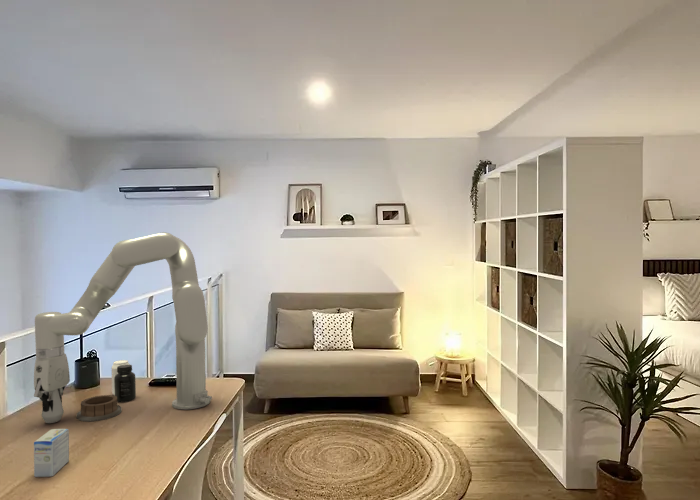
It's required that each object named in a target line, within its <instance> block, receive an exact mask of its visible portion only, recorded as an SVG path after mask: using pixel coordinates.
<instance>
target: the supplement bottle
mask: <svg viewBox="0 0 700 500" xmlns="http://www.w3.org/2000/svg"><path fill="white" fill-rule="evenodd" d="M117 372H118V374H116V375H115V377H114V389H115V395H114V396H117V403H128V402H132V401H134V400H135V399H136V397H137V393H136V392H137V390H136V388H137V387H136V385H137V384H136V374H135V373H134V372H133V365H132V364H130V365H121V366H118V367H117Z"/></svg>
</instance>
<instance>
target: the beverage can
mask: <svg viewBox="0 0 700 500" xmlns="http://www.w3.org/2000/svg"><path fill="white" fill-rule="evenodd" d="M121 365H131V364H130V362H129V360H127V359H121V360H120V359H119V360H116V361H114V362H113V363H112V366H111V393H112V394H111V395H113V396H115V389H114V377H115V375H116V374H118V372H117V367H118V366H121Z"/></svg>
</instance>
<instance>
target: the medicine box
mask: <svg viewBox="0 0 700 500" xmlns="http://www.w3.org/2000/svg"><path fill="white" fill-rule="evenodd" d="M69 461H70V431H69V428H51V429H49V430H48V431H47V432H45V433H44V434H43V435H42V436H40V437H39V438H38V439H36V440H34V442H33V477H35V478H47V477H49V478H50V477H53V476H55V475H56V474H57V473H58V472H59V471H60V470H62V468H63V467H64V466H66V464H67V463H69Z"/></svg>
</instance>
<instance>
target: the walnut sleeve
mask: <svg viewBox="0 0 700 500" xmlns="http://www.w3.org/2000/svg"><path fill="white" fill-rule="evenodd" d="M122 408H123V407H122V406H121V405H118V402H117V396H115V395H114V394H103V395H96V396H92V397H91V396H90V397H88V398H86V399H83V400H81V402H80V410H79V411H78V412H77V413H76V420H78V421H80V422H88V423H89V422H99V421H105V420H108V419H112V418H115V417H116V416H119V415H120V414H122V412H123V411H122Z"/></svg>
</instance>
